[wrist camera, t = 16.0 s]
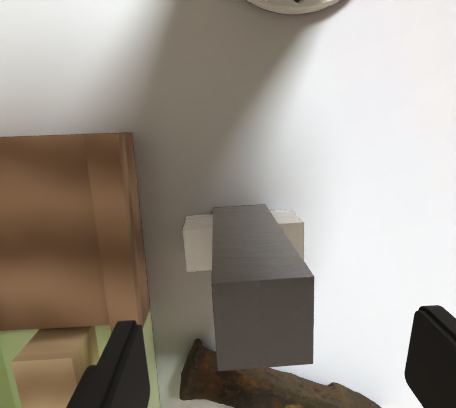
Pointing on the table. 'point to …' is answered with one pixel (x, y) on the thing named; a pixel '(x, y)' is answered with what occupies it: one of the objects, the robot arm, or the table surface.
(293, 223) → the cube with crossbar
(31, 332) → the tray
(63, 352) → the light brown cube
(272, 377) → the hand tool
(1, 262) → the slot board
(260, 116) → the table surface
